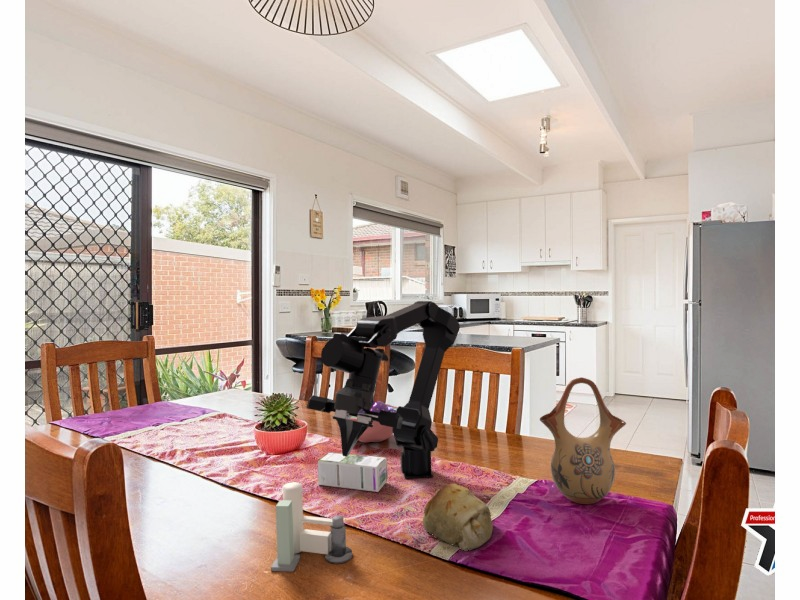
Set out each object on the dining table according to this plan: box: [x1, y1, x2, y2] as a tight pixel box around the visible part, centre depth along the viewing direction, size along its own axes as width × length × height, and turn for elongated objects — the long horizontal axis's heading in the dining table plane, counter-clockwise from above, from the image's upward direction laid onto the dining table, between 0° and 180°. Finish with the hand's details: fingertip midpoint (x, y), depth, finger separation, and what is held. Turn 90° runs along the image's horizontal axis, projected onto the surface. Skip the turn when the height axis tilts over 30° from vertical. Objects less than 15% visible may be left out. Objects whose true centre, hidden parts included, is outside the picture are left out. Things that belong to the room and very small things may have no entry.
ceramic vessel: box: [539, 377, 627, 505], centre depth 97 cm, size 16×9×25 cm, turn 77°
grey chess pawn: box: [324, 523, 353, 565], centre depth 80 cm, size 4×4×5 cm
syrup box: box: [317, 451, 388, 493], centre depth 108 cm, size 6×6×14 cm
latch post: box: [270, 499, 301, 573], centre depth 77 cm, size 4×4×10 cm
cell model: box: [348, 400, 399, 444], centre depth 138 cm, size 17×20×11 cm
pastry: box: [422, 482, 494, 552], centre depth 87 cm, size 14×12×8 cm
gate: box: [282, 481, 345, 555], centre depth 81 cm, size 10×3×11 cm, turn 76°
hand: (345, 456), depth 95 cm, fingers closed
